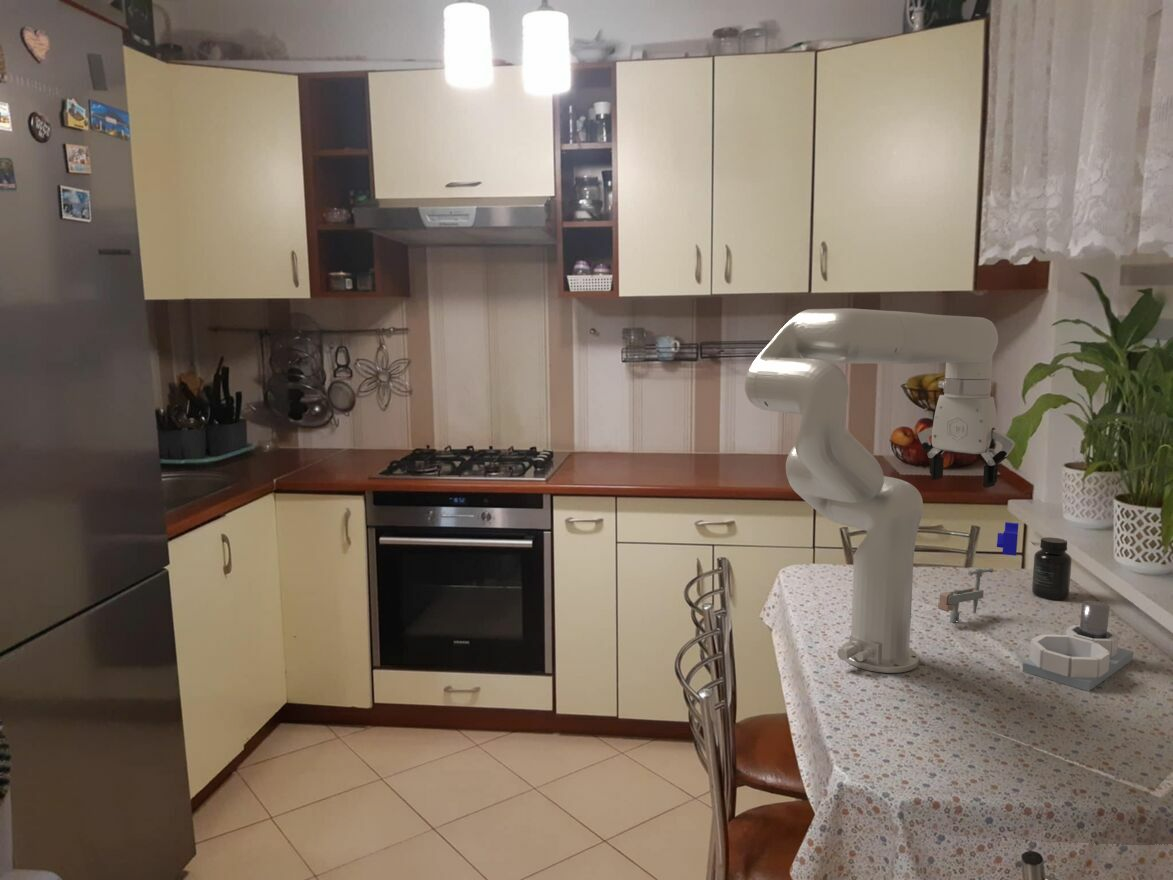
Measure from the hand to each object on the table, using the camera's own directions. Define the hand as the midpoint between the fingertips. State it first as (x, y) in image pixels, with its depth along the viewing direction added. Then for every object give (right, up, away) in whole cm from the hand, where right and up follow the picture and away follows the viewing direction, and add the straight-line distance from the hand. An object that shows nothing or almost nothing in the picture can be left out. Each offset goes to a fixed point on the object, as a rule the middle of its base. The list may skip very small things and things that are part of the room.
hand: (962, 482), depth 152 cm
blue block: (+38, -20, +59) cm, 73 cm away
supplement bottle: (+29, -25, +24) cm, 46 cm away
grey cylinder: (+18, -28, -9) cm, 35 cm away
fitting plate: (+14, -30, -11) cm, 35 cm away
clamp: (+5, -27, +11) cm, 30 cm away
